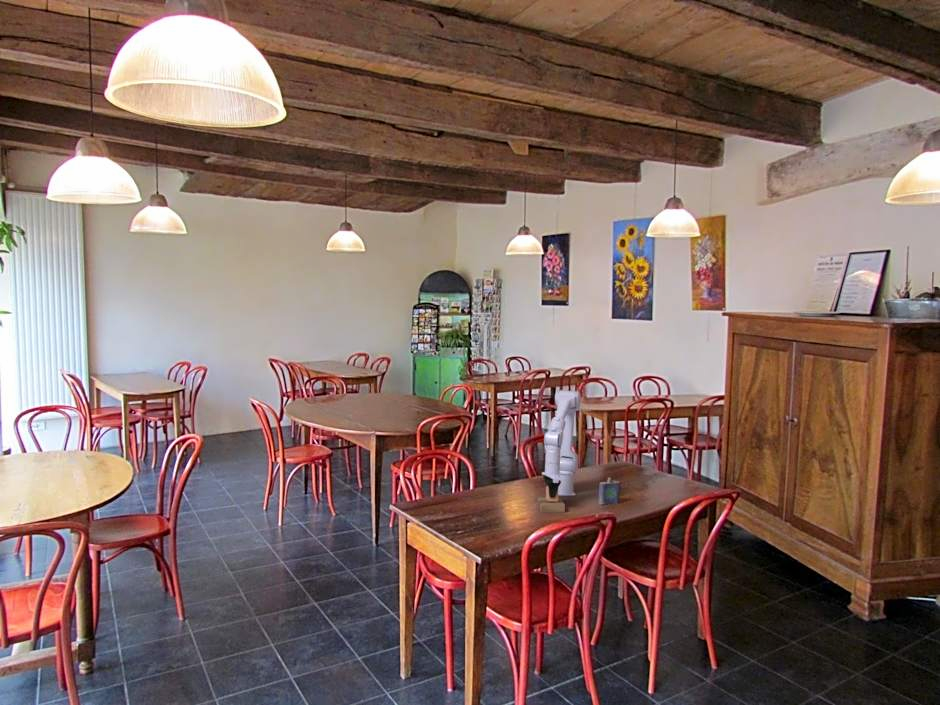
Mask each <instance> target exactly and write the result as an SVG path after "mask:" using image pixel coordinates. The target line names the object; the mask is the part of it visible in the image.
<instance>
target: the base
mask: <svg viewBox="0 0 940 705" xmlns="http://www.w3.org/2000/svg"><path fill="white" fill-rule="evenodd" d="M537 506H538V509H539V510H540V512H541V513H565V511H566V504H565V503H564V502H563V500H562V499H561V497H558V501H547V499H546V497H537Z"/></svg>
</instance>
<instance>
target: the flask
mask: <svg viewBox="0 0 940 705" xmlns="http://www.w3.org/2000/svg"><path fill="white" fill-rule="evenodd" d="M606 479H607V480H606V481H602V482H599V487H598V489H599V490H598V502H597V503H598V505H599V506H611V505H619V504H620V492H621V491H620V490H621V482H620V481H619V480H612V479H611V477H606Z"/></svg>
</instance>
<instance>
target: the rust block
mask: <svg viewBox="0 0 940 705" xmlns="http://www.w3.org/2000/svg"><path fill="white" fill-rule="evenodd" d="M545 498H546V499H547V501H558V498H559V496H558V490H557V494H556V497H555V498H550V496H549V488H548V486H546V485H545Z"/></svg>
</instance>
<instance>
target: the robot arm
mask: <svg viewBox="0 0 940 705" xmlns="http://www.w3.org/2000/svg"><path fill="white" fill-rule="evenodd" d="M581 396H582V395H581V392H580V391H578V390H577V391H573V390H563V389H561V390H560V389H557V390H556V391H555V394H554V403H555V406H557V408H556V414H555V416H554V417H552V418H551V422H550V424H549V427H548V431H546V432H545V433H544V436H543V437H544V438H543V443H544V451H545V459H544V460H545V462H544V471H541V475H542V476H543V477H542V478H543V479H544V483H545V487H546V486H548V488H549V496H550V498H555V497H556V494H557V490H558V497H559V496H576V493H575V492H574V483H575V482H574V480H575V479H574V478H575V474H576V473H578V468H579V455H578V454H577V453H576V451H574V450H573V442H574V440H573V439H574V427H575V426H574V425H575V415H576V412H577V411H580V408H581V399H582V398H581Z"/></svg>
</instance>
